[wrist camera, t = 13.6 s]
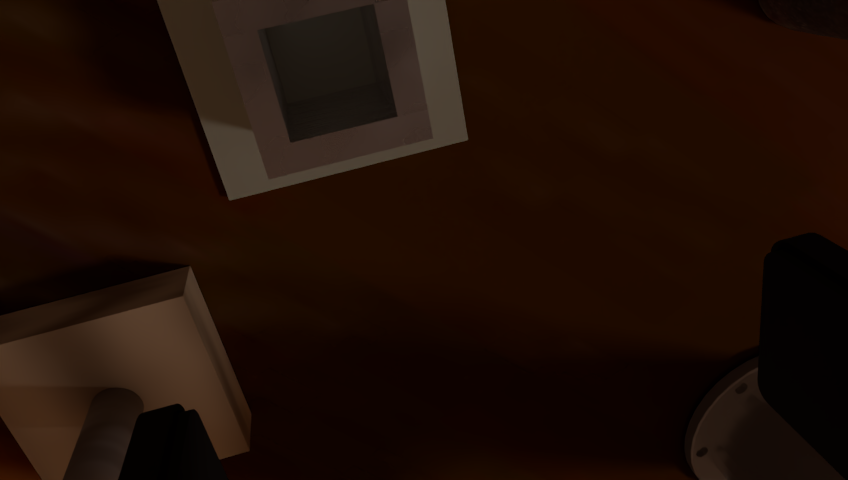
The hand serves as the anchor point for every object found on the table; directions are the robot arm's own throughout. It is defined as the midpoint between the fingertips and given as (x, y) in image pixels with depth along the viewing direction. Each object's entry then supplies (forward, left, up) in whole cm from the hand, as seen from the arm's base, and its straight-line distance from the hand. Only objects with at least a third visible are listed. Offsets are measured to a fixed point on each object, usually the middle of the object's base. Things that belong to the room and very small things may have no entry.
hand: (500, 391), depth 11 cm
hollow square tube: (+1, -2, -23) cm, 23 cm away
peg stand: (+15, +12, -23) cm, 30 cm away
